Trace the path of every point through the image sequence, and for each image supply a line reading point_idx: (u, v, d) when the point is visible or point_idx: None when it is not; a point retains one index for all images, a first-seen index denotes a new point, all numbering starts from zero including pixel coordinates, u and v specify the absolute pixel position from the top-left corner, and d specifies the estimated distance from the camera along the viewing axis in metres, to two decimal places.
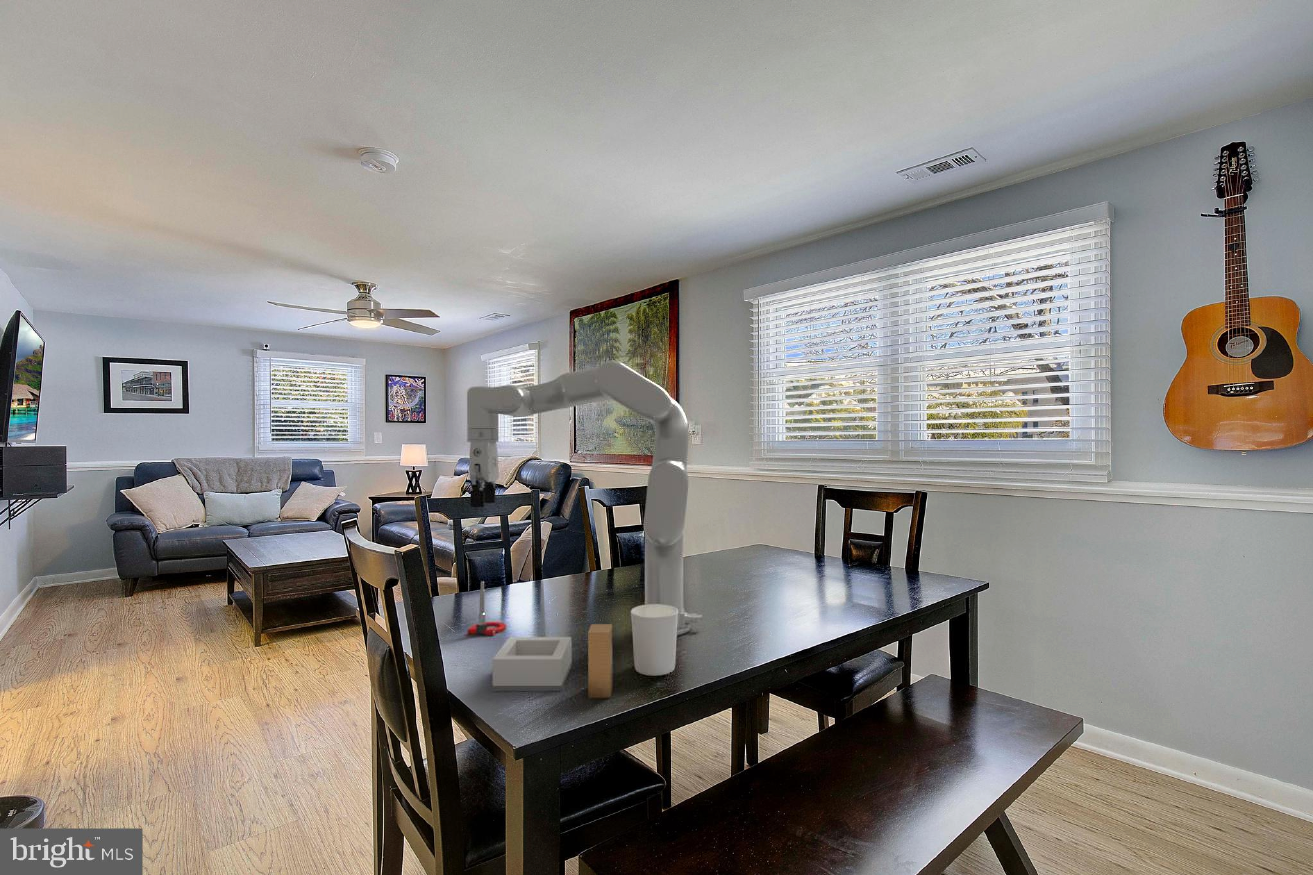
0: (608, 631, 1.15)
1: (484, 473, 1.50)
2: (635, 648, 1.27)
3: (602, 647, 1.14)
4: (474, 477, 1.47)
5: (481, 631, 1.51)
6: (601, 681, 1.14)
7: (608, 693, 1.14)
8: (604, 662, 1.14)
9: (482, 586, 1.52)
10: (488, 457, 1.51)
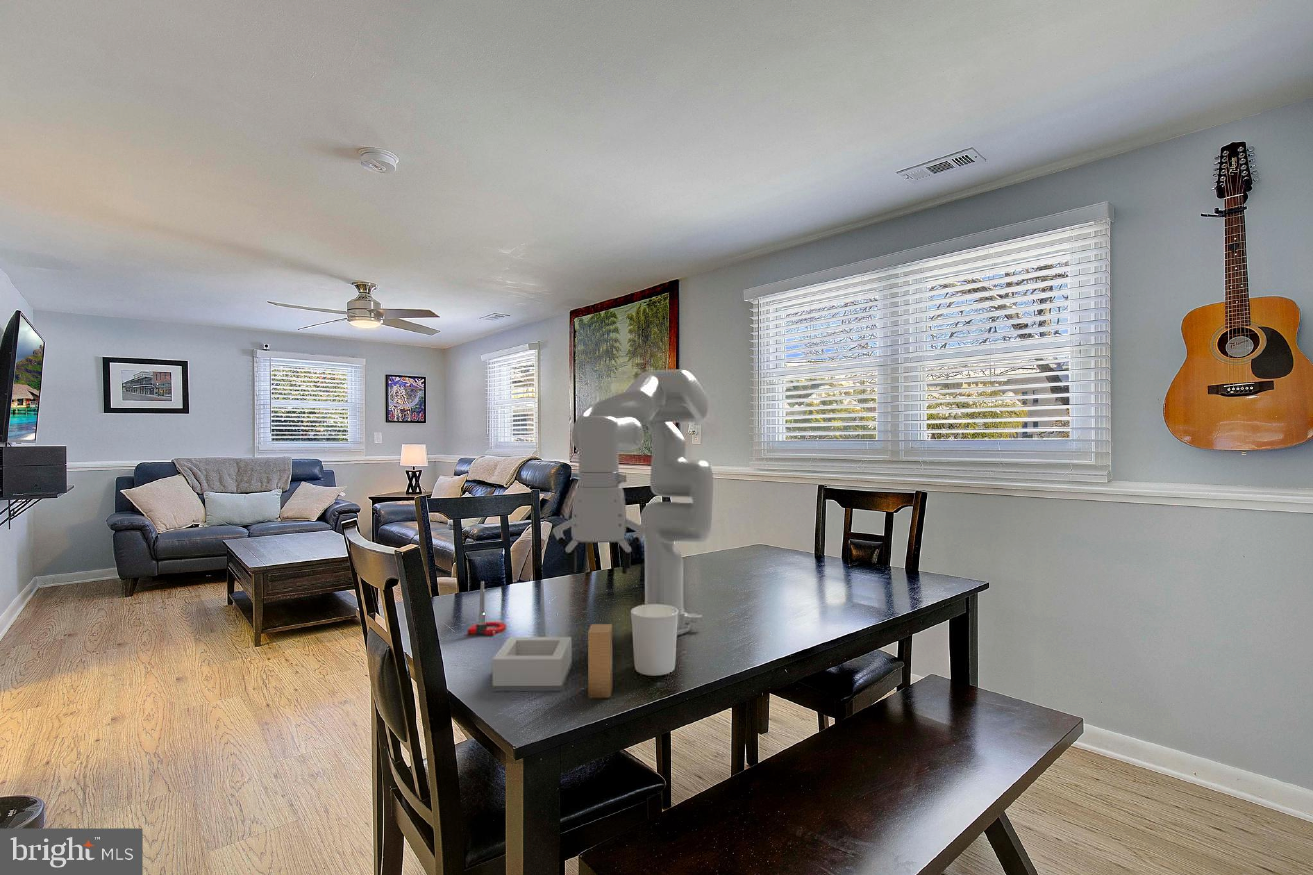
0: (608, 631, 1.15)
1: (626, 527, 1.19)
2: (635, 648, 1.27)
3: (602, 647, 1.14)
4: None
5: (481, 631, 1.51)
6: (601, 681, 1.14)
7: (608, 693, 1.14)
8: (604, 662, 1.14)
9: (482, 586, 1.52)
10: None
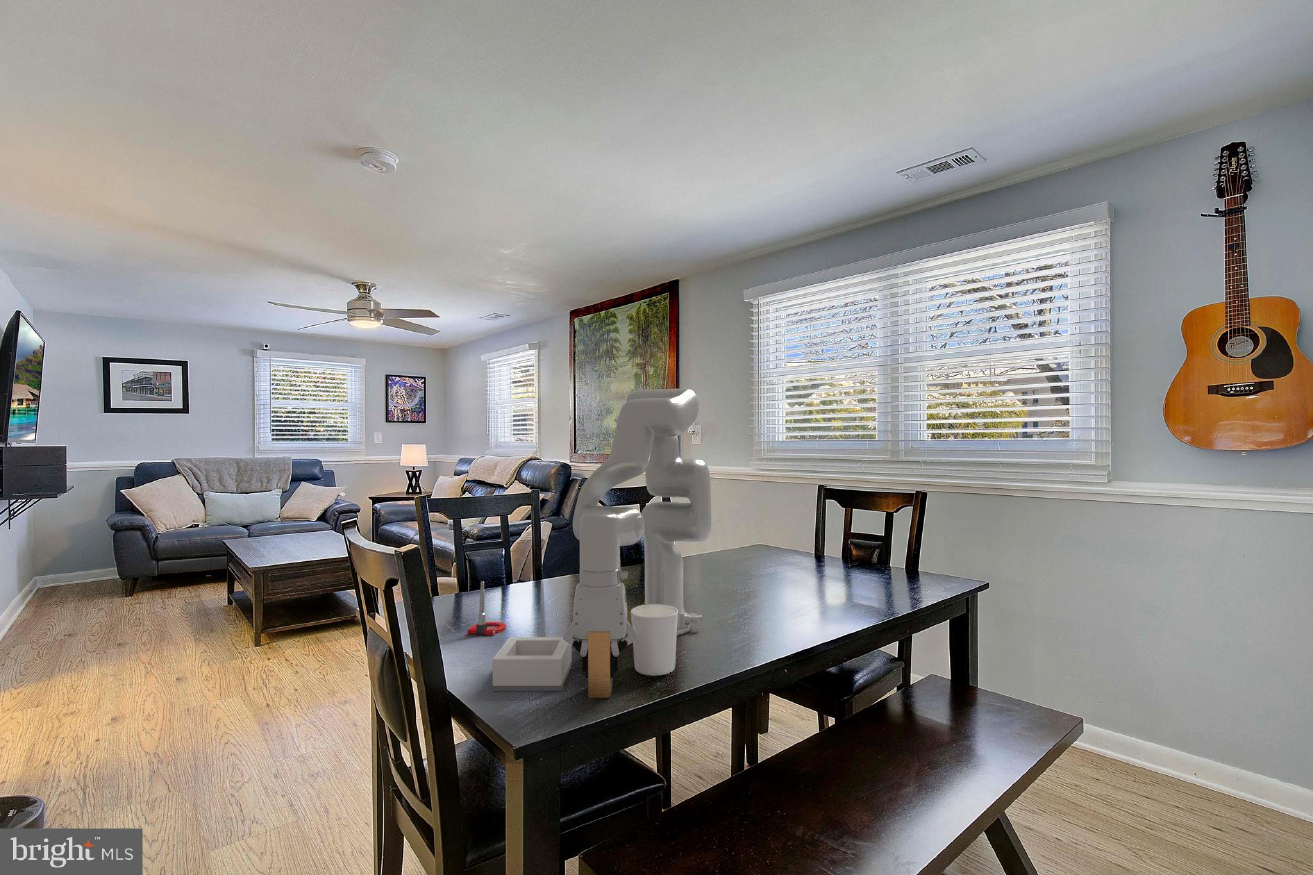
0: None
1: None
2: (635, 648, 1.27)
3: (602, 647, 1.14)
4: None
5: (481, 631, 1.51)
6: (601, 681, 1.14)
7: (608, 693, 1.14)
8: (604, 662, 1.14)
9: (482, 586, 1.52)
10: None
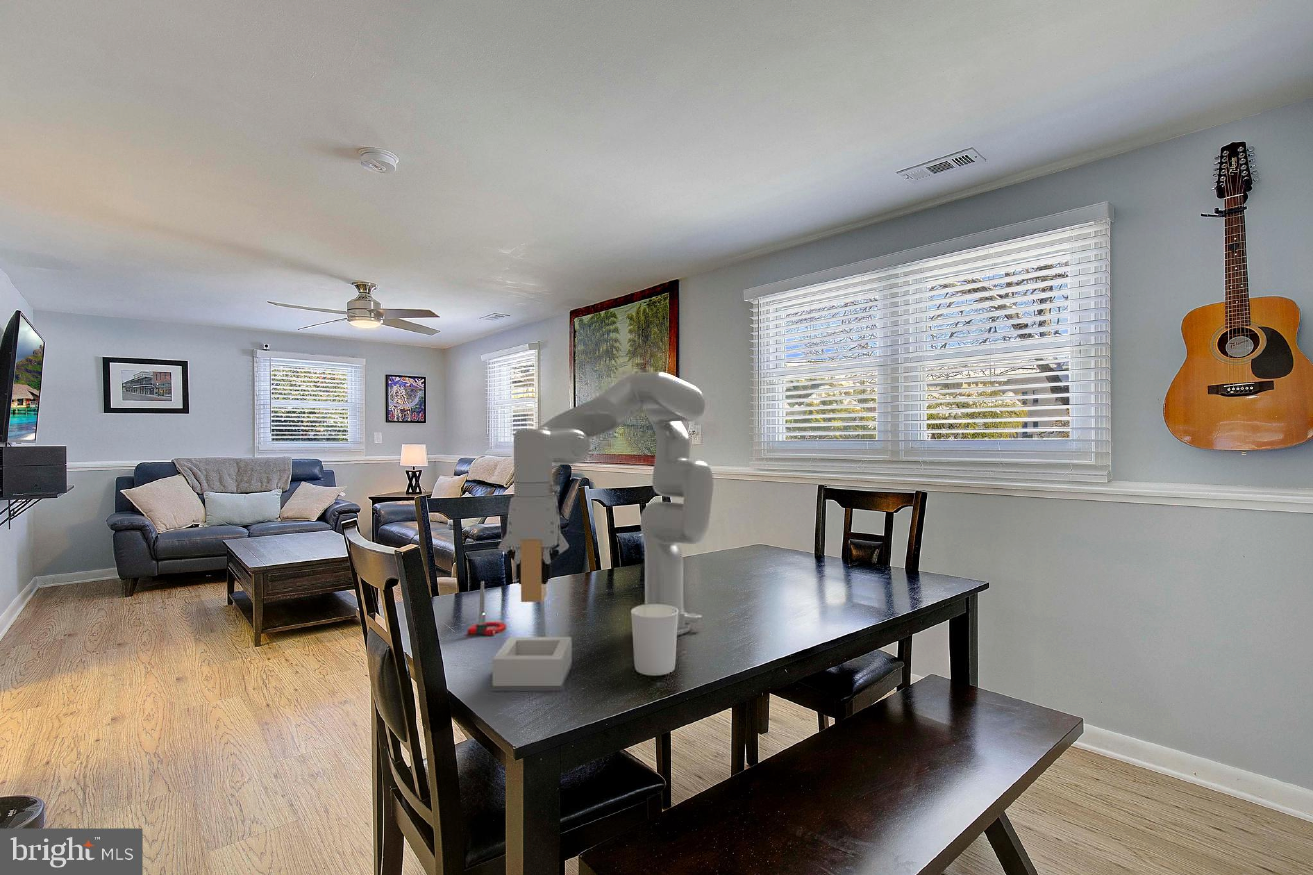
0: (540, 540, 1.22)
1: None
2: (635, 648, 1.27)
3: (534, 554, 1.21)
4: None
5: (481, 631, 1.51)
6: (533, 586, 1.21)
7: (539, 597, 1.21)
8: (536, 568, 1.21)
9: (482, 586, 1.52)
10: None
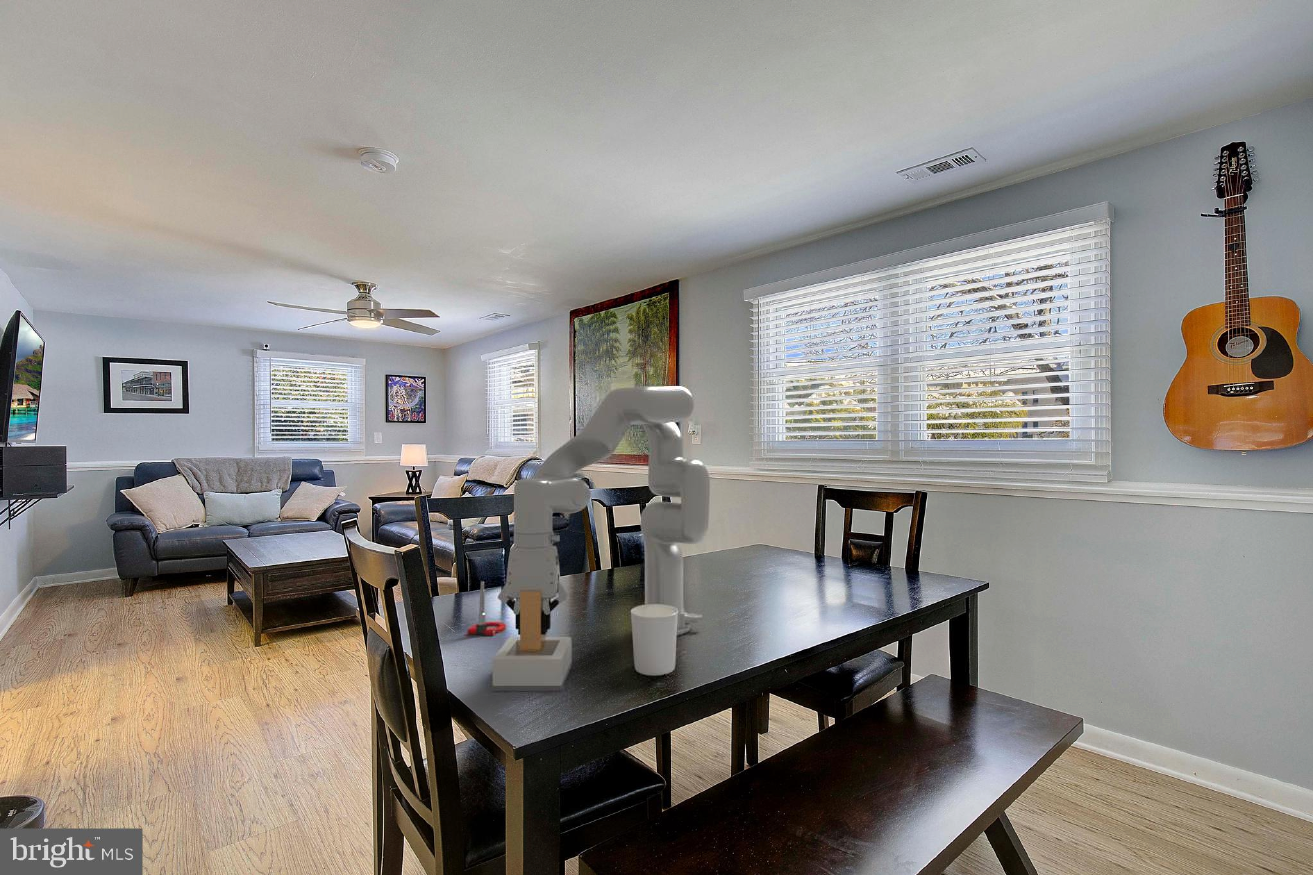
0: None
1: None
2: (635, 648, 1.27)
3: (533, 605, 1.21)
4: None
5: (481, 631, 1.51)
6: (532, 637, 1.21)
7: (538, 649, 1.21)
8: (535, 619, 1.21)
9: (482, 586, 1.52)
10: None
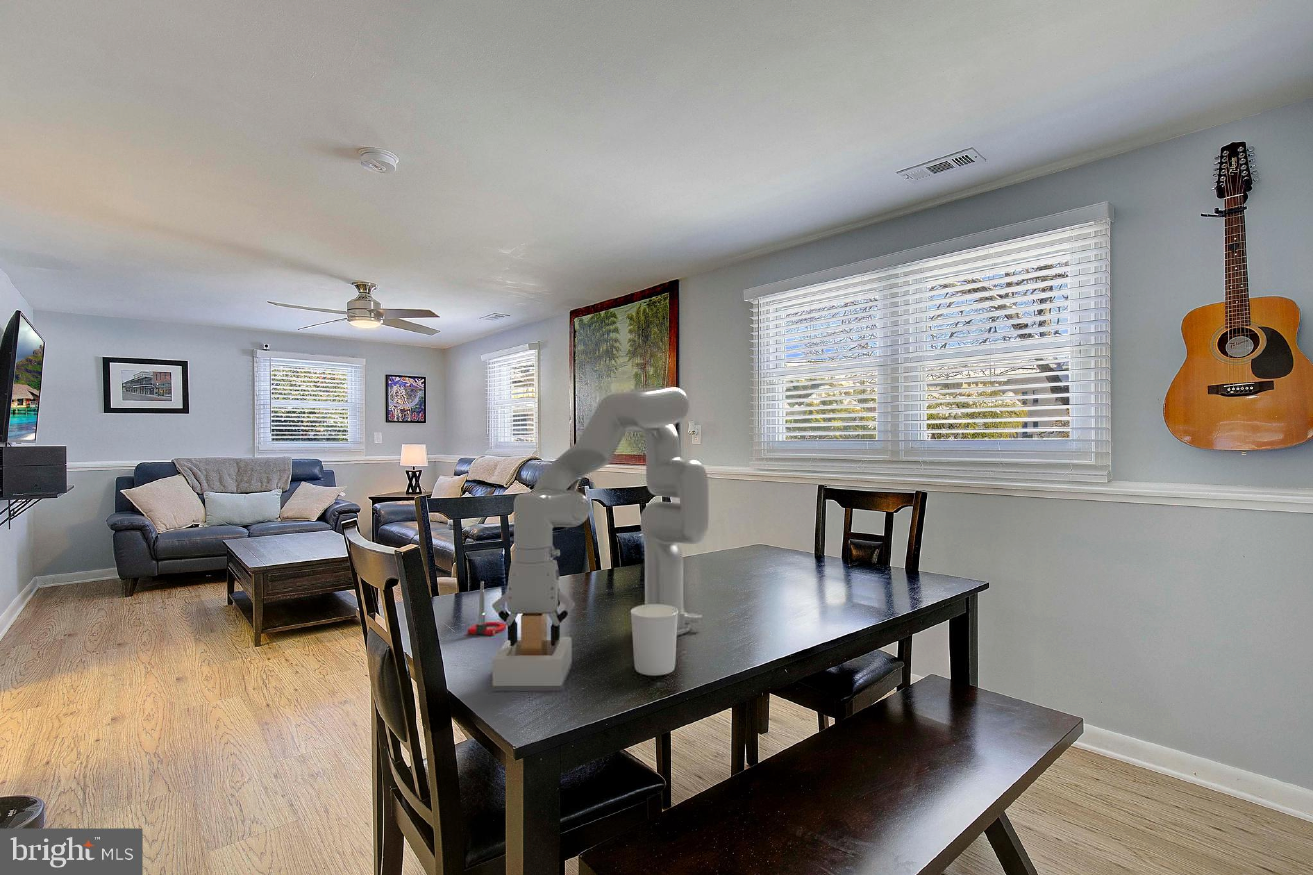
0: (540, 615, 1.22)
1: None
2: (635, 648, 1.27)
3: (534, 630, 1.21)
4: None
5: (481, 631, 1.51)
6: None
7: None
8: (536, 644, 1.21)
9: (482, 586, 1.52)
10: None
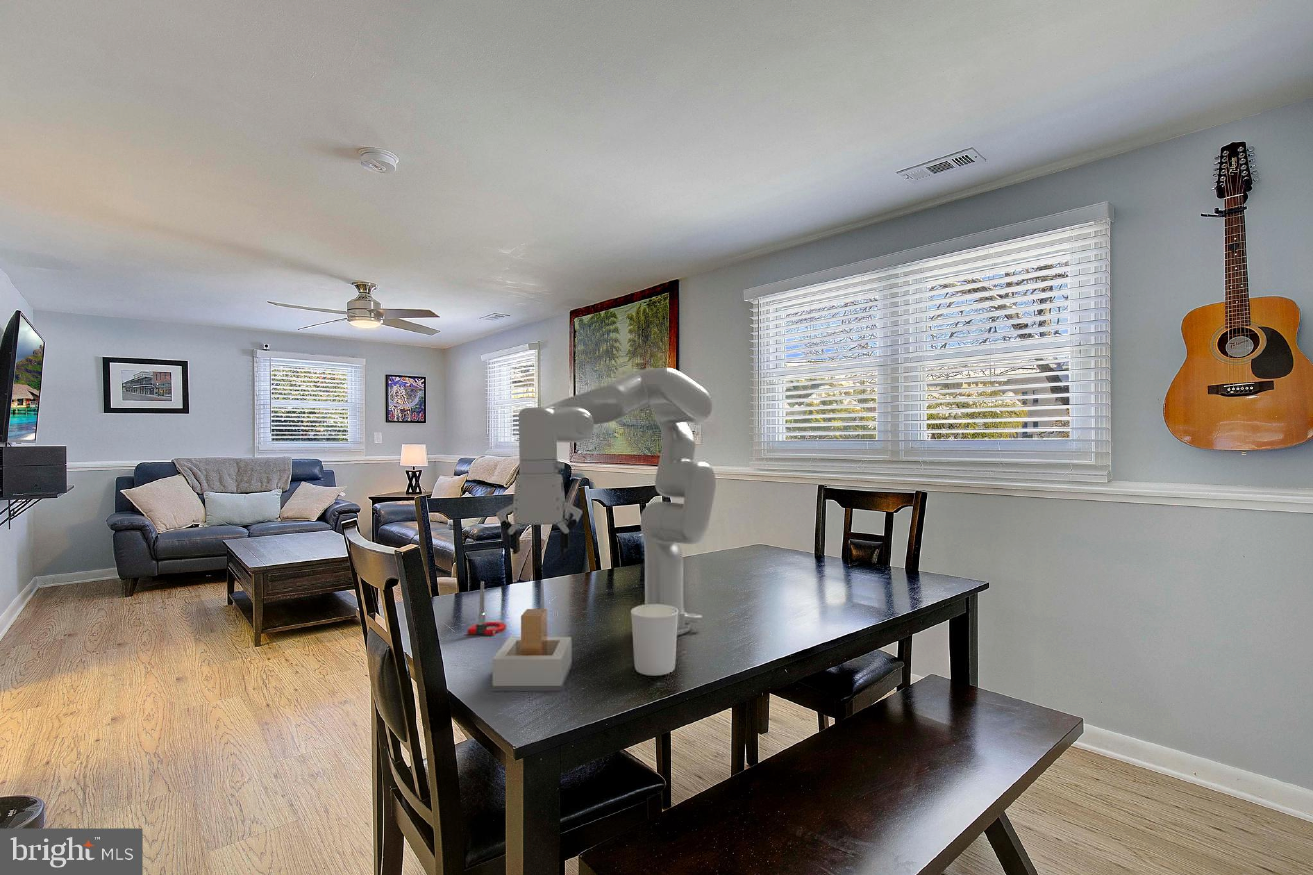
0: (540, 615, 1.22)
1: (565, 510, 1.28)
2: (635, 648, 1.27)
3: (534, 630, 1.21)
4: None
5: (481, 631, 1.51)
6: None
7: None
8: (536, 644, 1.21)
9: (482, 586, 1.52)
10: None
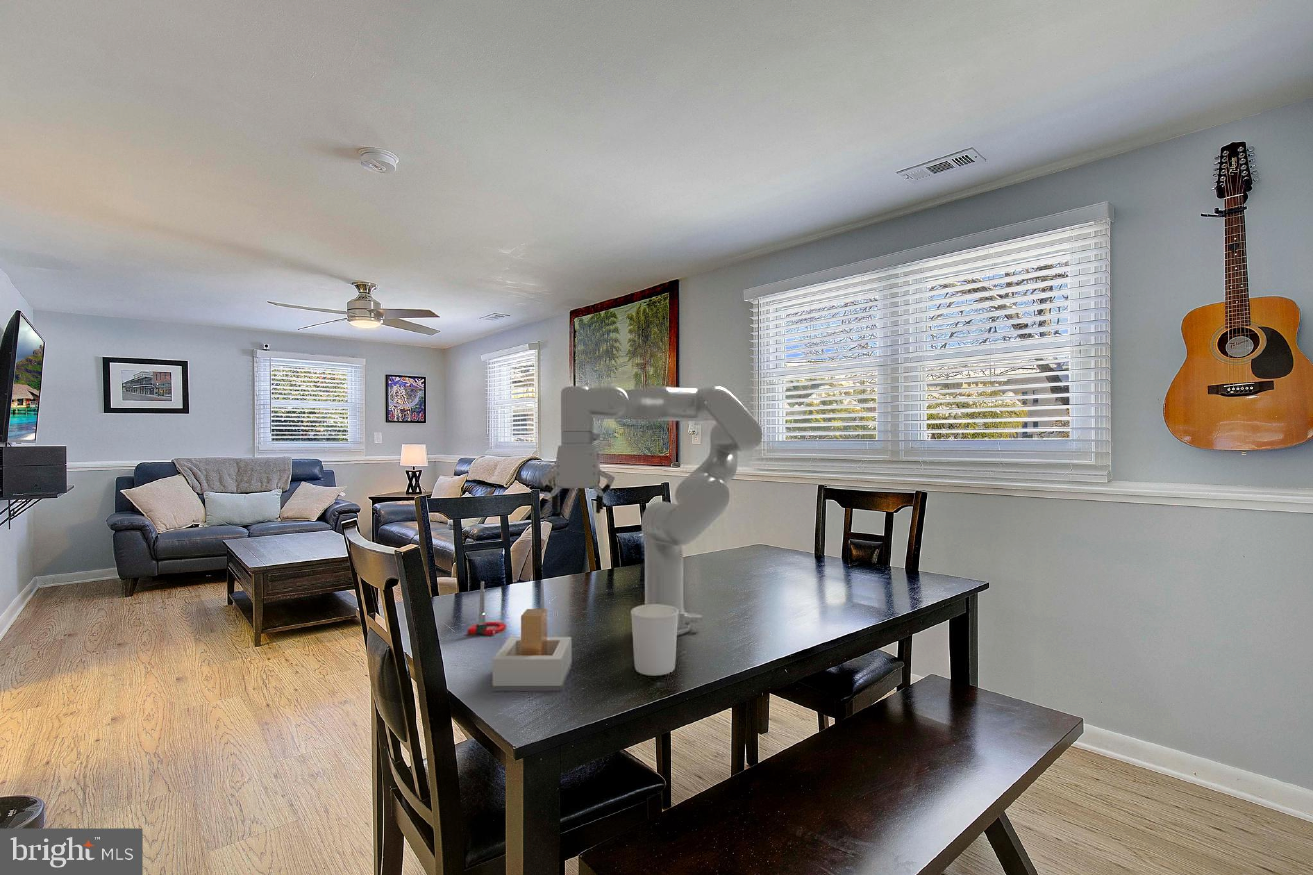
0: (540, 615, 1.22)
1: None
2: (635, 648, 1.27)
3: (534, 630, 1.21)
4: None
5: (481, 631, 1.51)
6: None
7: None
8: (536, 644, 1.21)
9: (482, 586, 1.52)
10: None
